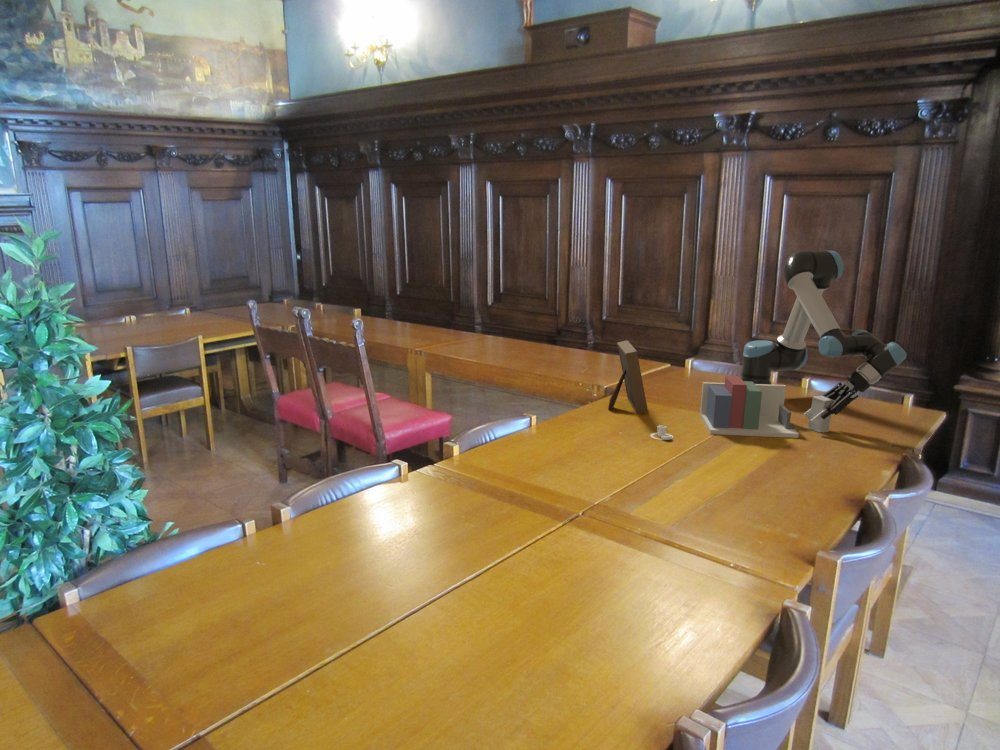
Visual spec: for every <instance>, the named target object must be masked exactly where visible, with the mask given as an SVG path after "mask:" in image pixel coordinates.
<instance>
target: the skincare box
mask: <svg viewBox="0 0 1000 750" xmlns="http://www.w3.org/2000/svg"><path fill="white" fill-rule="evenodd" d="M834 401H835V400H832V399H829V398H827V397H824V396H822V395H816V396H815V395H814V396H812V401H811V406H810V408H811V412H810V418H809V419H808V426H807V428H809V429H810V430H812V431H815V432H816V433H821V432H822V433H829V432H830V431H829V430H830V425H831V419H832V414H831V415H830V416H828V417H827V418H826V419H825V420H823V421H822V422H821V423H819V424H818V425H817V426H815V425H814V423H813V422H812V421H811V419H812V418H814V417H815V416H816V415H818V414H819V413H820V412H821V411H823V410H824V409H825V408H826V407H829V406H830V405H831V404H832V403H833V402H834ZM822 433H821V434H822Z"/></svg>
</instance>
